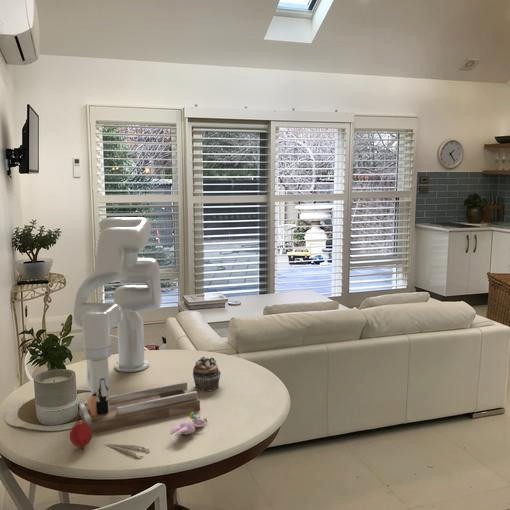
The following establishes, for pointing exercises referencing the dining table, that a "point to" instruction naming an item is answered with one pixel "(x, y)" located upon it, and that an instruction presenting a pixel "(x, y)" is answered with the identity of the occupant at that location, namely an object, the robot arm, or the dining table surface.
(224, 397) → the dining table surface
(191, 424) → the pink plastic figure
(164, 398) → the trap tube
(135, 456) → the tweezers
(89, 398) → the block
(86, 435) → the onion
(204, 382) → the cupcake
